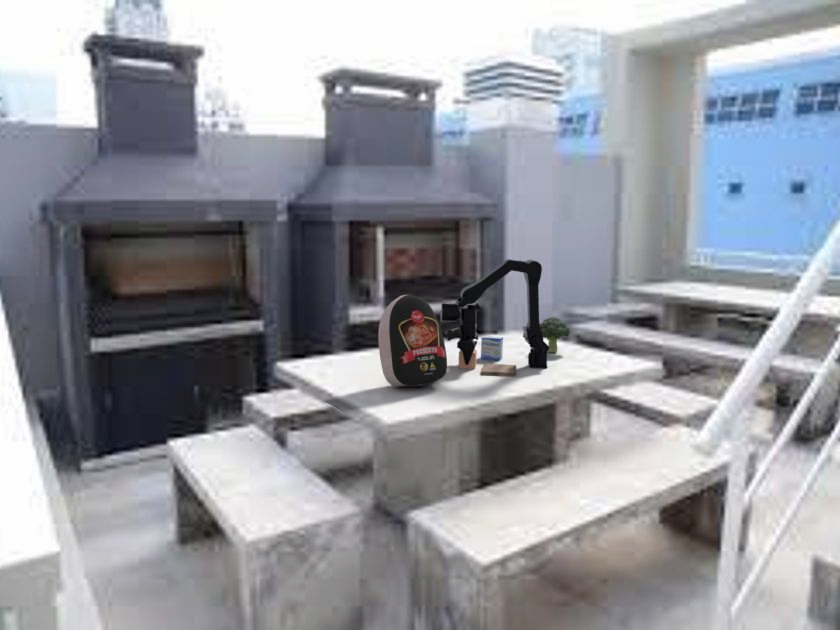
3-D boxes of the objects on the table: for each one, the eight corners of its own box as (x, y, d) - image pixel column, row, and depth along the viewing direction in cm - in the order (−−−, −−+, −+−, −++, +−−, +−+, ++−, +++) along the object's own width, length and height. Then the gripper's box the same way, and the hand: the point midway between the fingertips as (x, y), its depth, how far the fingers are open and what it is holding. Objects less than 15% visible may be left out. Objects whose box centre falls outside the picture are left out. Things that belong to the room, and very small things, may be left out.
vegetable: (535, 348, 286) (536, 313, 284) (566, 349, 286) (567, 314, 283) (539, 355, 274) (540, 318, 272) (571, 356, 274) (572, 319, 271)
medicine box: (480, 359, 268) (481, 337, 266) (482, 356, 272) (483, 335, 270) (500, 360, 265) (501, 338, 264) (502, 358, 269) (503, 336, 268)
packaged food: (401, 396, 215) (401, 302, 210) (368, 383, 231) (367, 295, 226) (455, 386, 228) (456, 297, 223) (420, 374, 244) (421, 290, 239)
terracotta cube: (476, 365, 258) (476, 349, 257) (474, 369, 252) (475, 353, 251) (460, 364, 259) (460, 349, 258) (458, 368, 253) (458, 352, 252)
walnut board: (516, 368, 253) (516, 365, 253) (515, 376, 242) (515, 373, 241) (483, 366, 255) (483, 363, 255) (481, 374, 244) (481, 371, 243)
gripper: (449, 316, 263) (449, 356, 265) (443, 325, 245) (442, 367, 247) (478, 317, 261) (477, 357, 264) (474, 326, 243) (473, 369, 245)
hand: (467, 362), depth 255 cm, fingers closed on terracotta cube, 6 cm apart
